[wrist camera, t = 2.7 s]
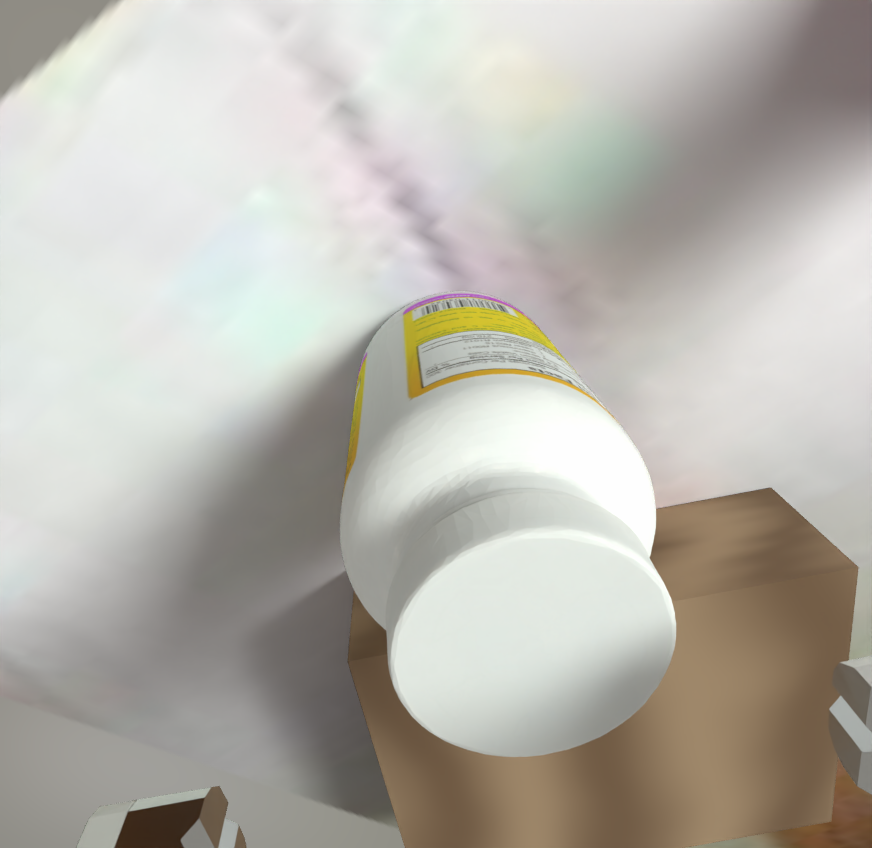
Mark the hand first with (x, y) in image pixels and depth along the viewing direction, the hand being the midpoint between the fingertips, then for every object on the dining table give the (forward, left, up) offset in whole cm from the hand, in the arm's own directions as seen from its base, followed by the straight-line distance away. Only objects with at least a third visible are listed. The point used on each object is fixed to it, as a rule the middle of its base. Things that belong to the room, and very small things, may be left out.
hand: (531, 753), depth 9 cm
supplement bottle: (0, 0, -15) cm, 15 cm away
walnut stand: (-3, +13, -15) cm, 20 cm away
